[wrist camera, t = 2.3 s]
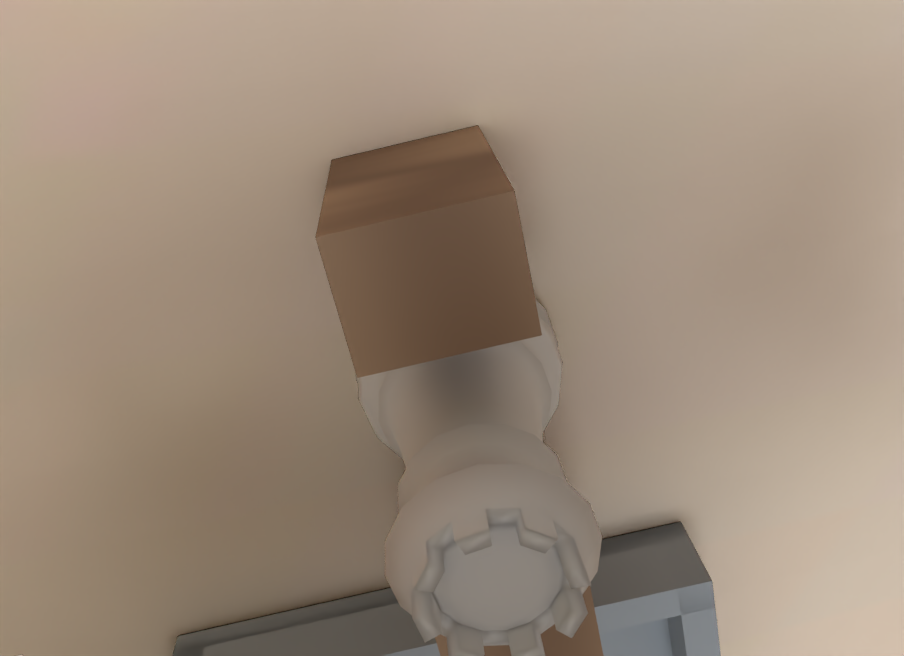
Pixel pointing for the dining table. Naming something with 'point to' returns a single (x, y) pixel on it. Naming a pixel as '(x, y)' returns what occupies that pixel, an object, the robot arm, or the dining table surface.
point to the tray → (404, 651)
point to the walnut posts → (432, 273)
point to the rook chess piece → (483, 498)
